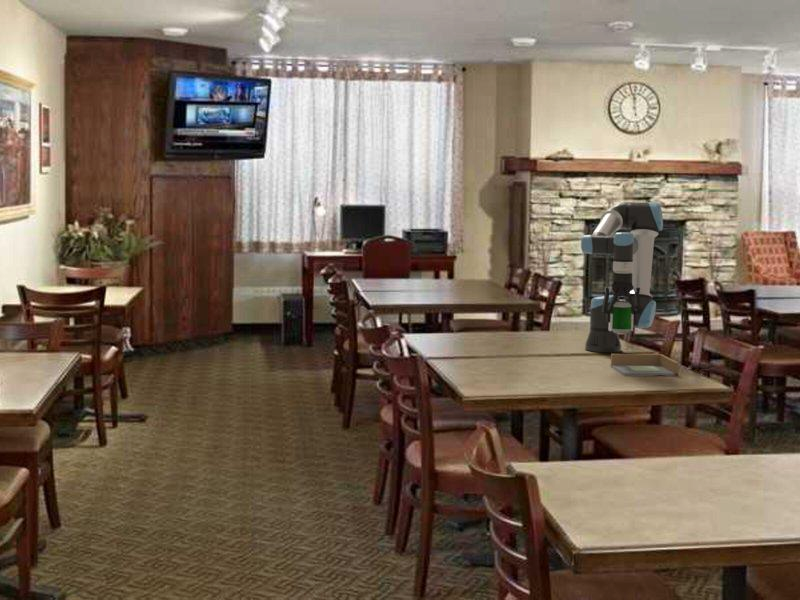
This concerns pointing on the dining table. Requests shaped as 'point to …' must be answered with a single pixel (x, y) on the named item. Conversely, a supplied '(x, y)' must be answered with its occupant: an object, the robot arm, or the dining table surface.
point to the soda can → (621, 317)
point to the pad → (643, 368)
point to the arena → (644, 364)
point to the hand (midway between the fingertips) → (620, 330)
